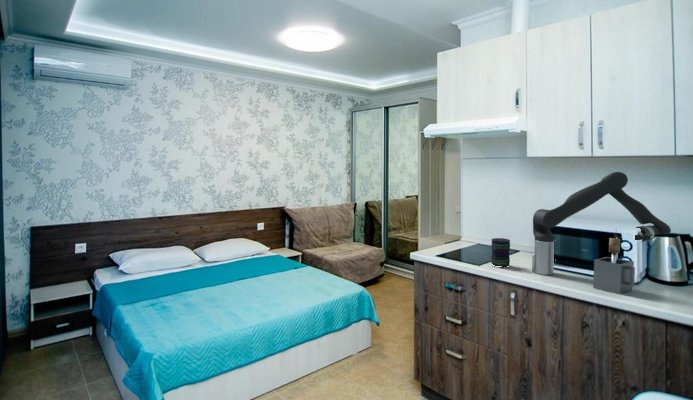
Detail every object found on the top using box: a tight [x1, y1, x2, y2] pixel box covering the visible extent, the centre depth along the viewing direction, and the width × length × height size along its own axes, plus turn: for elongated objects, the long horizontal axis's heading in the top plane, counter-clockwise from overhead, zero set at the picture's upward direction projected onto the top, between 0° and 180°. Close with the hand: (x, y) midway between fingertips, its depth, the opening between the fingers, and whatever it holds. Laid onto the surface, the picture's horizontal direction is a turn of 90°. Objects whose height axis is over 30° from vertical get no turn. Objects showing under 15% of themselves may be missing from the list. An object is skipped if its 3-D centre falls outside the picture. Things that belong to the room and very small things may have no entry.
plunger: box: [608, 237, 621, 263], centre depth 176 cm, size 9×9×22 cm
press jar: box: [592, 256, 636, 295], centre depth 175 cm, size 14×11×13 cm
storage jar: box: [490, 237, 511, 267], centre depth 220 cm, size 10×10×15 cm
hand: (625, 236), depth 182 cm, fingers open, 8 cm apart
